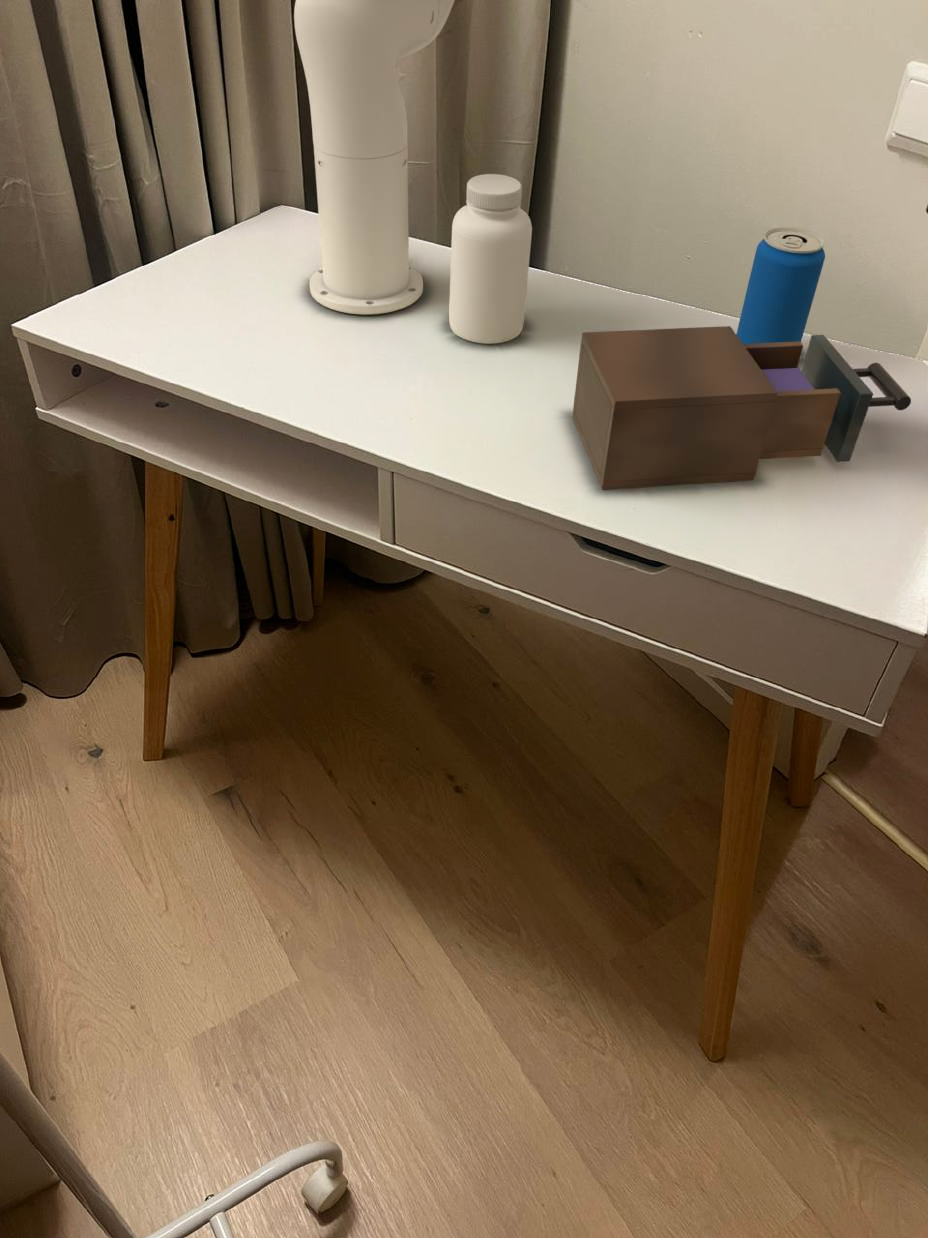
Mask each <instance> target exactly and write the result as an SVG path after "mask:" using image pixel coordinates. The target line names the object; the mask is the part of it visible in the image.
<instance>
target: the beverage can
mask: <svg viewBox="0 0 928 1238" xmlns="http://www.w3.org/2000/svg"><path fill="white" fill-rule="evenodd" d="M824 246H825V241H824V239H823V237H821V236H820V235H818V234H817V233H815V232H812V231H810V230H808V229H804V228H798V227H789V226H787V227H786V226H785V227H784V226H783V227H774V228H771V229H769V230H767V231H766V232H765V233H764V235H763V239H762V240H761V241H760V242H759V243H758V244H757V246H756V249H755V254H754V258H753V261H752V267H751V271H750V274H749V279H748V282H747V288H746V291H745V295H744V300H743V304H742V309H741V312H740V317H739V322H738V326H737V330H736V333H735V334H736V335H737V337H738V338H739V339H740V341H741V342H742V344H754V343H776V342H799V341H800V342H801V343H802V340H803V337H804V334H805V330H806V326H807V322H808V319H809V315H810V312H811V309H812V305H813V301H814V299H815V294H816V292H817V289H818V288H817V287H818V284H819V280H820V277H821V274H822V269H823V266H824V262H825V260H826V252H825V250H824V248H823V247H824Z"/></svg>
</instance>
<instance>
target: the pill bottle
mask: <svg viewBox="0 0 928 1238" xmlns="http://www.w3.org/2000/svg"><path fill="white" fill-rule="evenodd" d="M522 192H523V186H522V183H521V182H520V181H519V180H518V179H516V178H514V177H512V176H509V175H506V174H505V175H504V174H498V173H485V174H484V173H483V174H479V175H475V176H472V177H471V178H470V179H469V180H468V181H467V183H466V199H465V200H466V205H463V206H462V207H461V208H460V209H459V210H457V212H456V213H455V215H454V217H453V220H452V223H451V224H452V225H451V245H450V247H451V248H450V249H451V250H450V275H449V277H450V280H449V282H450V283H449V305H448V306H449V307H448V319H449V320H448V321H449V323H448V324H449V327H450V329H451V331H452V332H453V333H454V334H455V335H456V336H458V337H459V338H461V339H463V340H466V341H469V342H472V343H478V344H500V343H505V342H509V341H511V340H513V339H515V338H517V337H518V336H519V335H520V334H521V333H522V331H523V328H524V322H525V316H526V315H525V314H526V305H527V304H526V302H527V291H528V282H529V281H528V280H529V268H530V258H531V257H530V256H531V246H532V234H533V225H532V221H531V218H530V216H529V214H528V213H527V212H526V211H525V210H523V209H522V208H521V205H522V202H521V201H522V195H523V193H522Z"/></svg>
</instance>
